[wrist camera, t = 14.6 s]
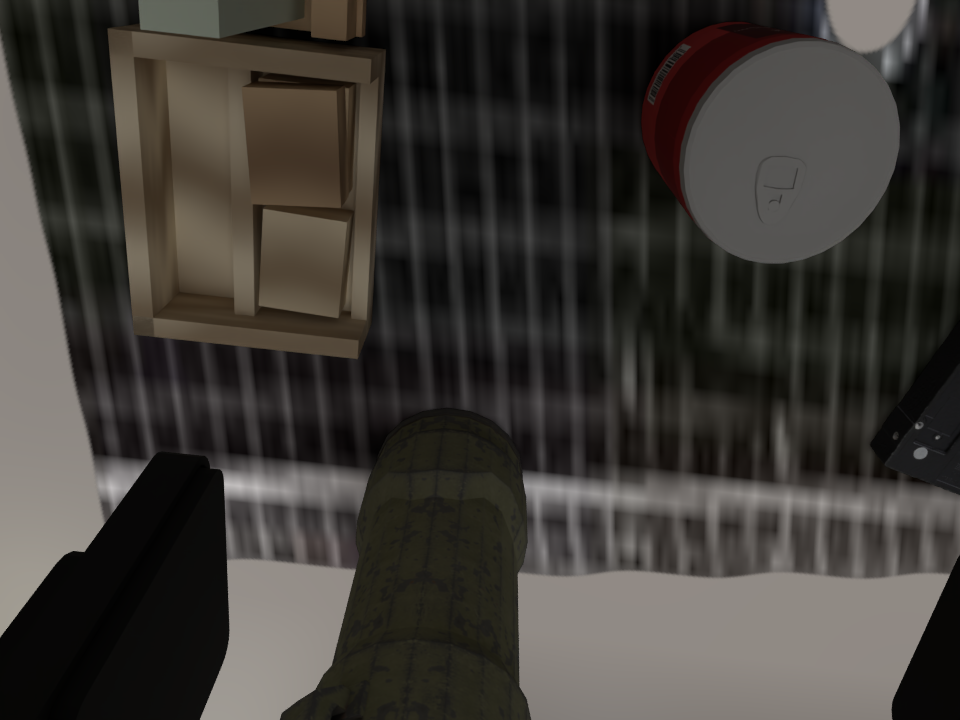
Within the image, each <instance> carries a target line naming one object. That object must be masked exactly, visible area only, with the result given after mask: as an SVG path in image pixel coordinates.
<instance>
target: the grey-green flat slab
mask: <svg viewBox="0 0 960 720" xmlns="http://www.w3.org/2000/svg"><path fill="white" fill-rule="evenodd" d="M138 1H139V15H140V29H141V30H150V31H159V32H167V33H176V34H185V35H194V36H202V37H211V38H223V37H227V36H232V35H236V34H240V33H244V32H248V31H252V30H256V29H260V28H265V27H269V26H273V25H277V24H281V23H285V22H289V21H293V20H298V19H302V18H304V13H305V0H138Z"/></svg>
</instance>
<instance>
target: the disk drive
mask: <svg viewBox="0 0 960 720" xmlns="http://www.w3.org/2000/svg"><path fill="white" fill-rule="evenodd" d="M870 446H871V447H872V449H873V450H874V451H875V453H876V454H877V456H878V457H879V458H880V460H881V461H882V462H883V463H884V465H885V466H886V467H889V468H891V469H893V470H896V471H899V472H901V473H904V474H907V475H909V476H912V477H914V478H918V479H920V480H923V481H925V482H928V483H930V484H933V485H935V486H938V487H941V488H943V489H945V490H948V491H950V492H953V493H956V494H958V495H960V321H959V322H958V324H957V325H956V326H955V327H954V329H953V330H952V331H951V333H950V334H949V336H948V337H947V339H946V340H945V341H944V343H943V344H942V345H941V347H940V348H939V350H938V351H937V352H936V354H935V355H934V356H933V358H932V359H931V361H930V362H929V363H928V365H927V367H926V368H925V369H924V370H923V372H922V373H921V375H920V376H919V377H918V379H917V380H916V382H915V383H914V384H913V386H912V387H911V388H910V390H909V391H908V392H907V394H906V395H905V396H904V398H903V399H902V401H901V402H900V404H899V405H898V406H897V407H896V408H895V409H894V411H893V412H892V413H891V414H890V416H889V417H888V419H887V420H886V422H885V423H884V424H883V426H882V429H881V430H880V431H879V432H878V434H877V435H876V436H875V439H874V440H873V441H872V442H871V444H870Z"/></svg>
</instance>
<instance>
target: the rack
mask: <svg viewBox="0 0 960 720" xmlns="http://www.w3.org/2000/svg"><path fill="white" fill-rule="evenodd" d="M108 39H109V51H110V62H111V74H112V85H113V97H114V108H115V120H116V131H117V143H118V154H119V166H120V177H121V189H122V200H123V212H124V223H125V235H126V246H127V258H128V269H129V281H130V292H131V304H132V315H133V327H134V335H143V336H153V337H162V338H171V339H180V340H189V341H198V342H208V343H217V344H226V345H235V346H244V347H253V348H263V349H272V350H281V351H290V352H299V353H308V354H318V355H327V356H336V357H345V358H354V359H358V357H359V354H360V352H361V349H362V346H363V344H364V341H365V339H366V336H367V333H368V331H369V328H370V326H371V323H372V304H373V285H374V266H375V247H376V228H377V209H378V190H379V171H380V151H381V132H382V113H383V94H384V75H385V56H386V49H377V48H369V47H360V46H351V45H343V44H334V43H326V42H317V41H308V40H300V39H291V38H283V37H274V36H265V35H257V34H248V33H240V34H236V35H232V36H227V37H223V38H211V37H202V36H194V35H185V34H176V33H167V32H159V31H150V30H141V29H140V24H135V25H128V26H121V27H115V28H108ZM269 73H276V74H285V75H293V76H302V77H311V78H319V79H328V80H337V81H345V82H354V83H356V109H355V135H354V161H353V187H352V190H351V192H350V193H349V197H348V199H347V200H346V201H345V203H344V204H343V206H342V207H341V208H338V209H344V210H350V211H354V218H353V229H352V239H351V250H350V261H349V271H348V282H347V293H346V303H345V305H344V308H343V310H342V312H341V314H340V316H339V318H334V317H327V316H321V315H315V314H309V313H302V312H296V311H290V310H283V309H277V308H271V307H264V306H259V288H260V265H261V243H262V220H263V208H264V207H265V206H266V205H262V204H252V202H251V190H250V179H249V167H248V156H247V144H246V133H245V121H244V110H243V99H242V87H243V86H245V85H247V84H249V83H252V82H254V81H259V78H260V77H262V76H265V75H267V74H269Z"/></svg>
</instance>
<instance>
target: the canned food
mask: <svg viewBox="0 0 960 720" xmlns="http://www.w3.org/2000/svg"><path fill="white" fill-rule="evenodd" d="M641 126H642V136H643V141H644V144H645V148H646V151H647V154H648V156H649V158H650V160H651V162H652V163H653V165H654V167H655V169H656V170H657V171H658V173H659V174H660V176H661V177H662V178H663V180H664V181H665V183H666V184H667V185H668V187H669V188H670V190H671V191H672V192H673V194H674V195H675V197H676V198H677V199H678V201H679V202H680V204H681V205H682V206H683V208H684V209H685V211H686V212H687V213H688V215H689V216H690V217H691V219H692V220H693V221H694V222H695V223H696V225H697V226H698V227H699V228H700V229H701V230H702V231H703V233H704V234H705V235H706V236H707V237H708V238H709V239H710V240H712V241H713V242H714V243H716V244H717V245H719V246H720V247H721V248H723V249H724V250H726V251H727V252H729V253H731V254H733V255H736V256H738V257H740V258H743V259H745V260H750V261H755V262H760V263H787V262H792V261H797V260H803V259H806V258H808V257H811V256H813V255H816V254H819V253H821V252H824V251H825V250H827V249H829V248H830V247H832V246H834V245H835V244H837V243H839V242H841V241H842V240H843V239H844V238H846V237H847V236H848V235H849V234H850V233H852V232H853V231H854V230H855V229H856V228H858V227H859V226H860V225H861V223H862V222H863V221H864V220H865V219H866V218H867V217H868V215H869V214H870V213H871V212H872V211H873V210H874V208H875V207H876V205H877V203H878V202H879V200H880V199H881V197H882V195H883V194H884V192H885V190H886V188H887V186H888V183H889V181H890V178H891V176H892V174H893V171H894V168H895V164H896V159H897V155H898V150H899V134H900V124H899V118H898V112H897V107H896V103H895V100H894V98H893V96H892V93H891V91H890V88H889V86H888V84H887V83H886V81H885V80H884V79H883V77H882V76H881V74H880V73H879V72H878V70H877V69H876V68H875V67H874V66H873V65H872V64H870V63H869V62H868V61H867V60H866V59H864V58H863V57H862V56H861V55H859V54H857V53H856V52H855V51H853V50H851V49H849V48H847V47H845V46H843V45H841V44H838V43H836V42H832V41H828V40H826V39H822V38H817V37H813V36H808V35H804V34H799V33H794V32H789V31H784V30H780V29H775V28H770V27H765V26H760V25H755V24H751V23H746V22H724V23H720V24H715V25H711V26H708V27H706V28H703V29H701V30H699V31H697V32H695V33H693V34H691V35H690V36H688V37H687V38H685V39H684V40H683V41H681V42H680V43H678V44H677V45H676V46H675V47H674V48H673V49H672V50H671V51H670V52H669V53H668V54H667V55H666V56H665V58H664V59H663V61H662V62H661V64H660V65H659V66H658V68H657V69H656V71H655V72H654V75H653V77H652V79H651V81H650V83H649V85H648V88H647V91H646V94H645V98H644V102H643V106H642V118H641Z"/></svg>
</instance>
